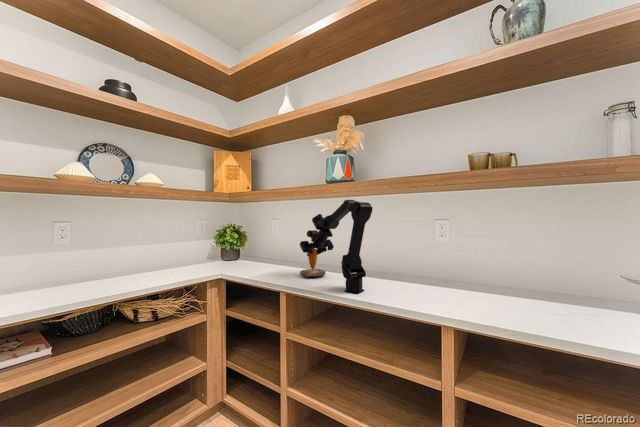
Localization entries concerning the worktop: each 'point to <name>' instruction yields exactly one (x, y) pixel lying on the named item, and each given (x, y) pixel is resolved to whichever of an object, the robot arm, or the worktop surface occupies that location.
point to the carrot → (313, 258)
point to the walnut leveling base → (312, 273)
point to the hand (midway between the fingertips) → (311, 255)
